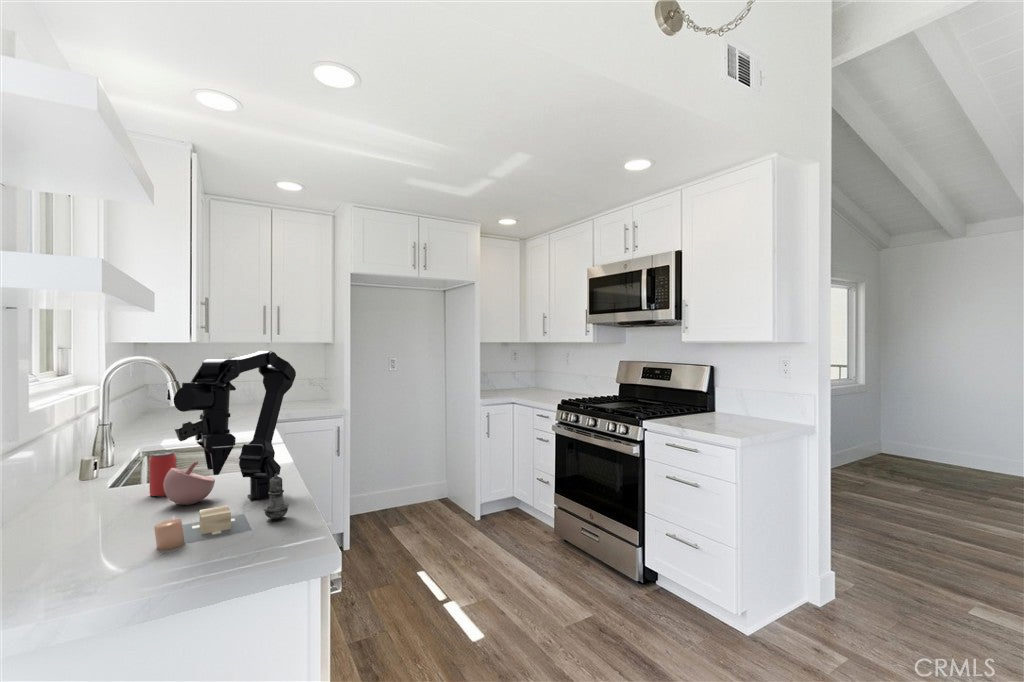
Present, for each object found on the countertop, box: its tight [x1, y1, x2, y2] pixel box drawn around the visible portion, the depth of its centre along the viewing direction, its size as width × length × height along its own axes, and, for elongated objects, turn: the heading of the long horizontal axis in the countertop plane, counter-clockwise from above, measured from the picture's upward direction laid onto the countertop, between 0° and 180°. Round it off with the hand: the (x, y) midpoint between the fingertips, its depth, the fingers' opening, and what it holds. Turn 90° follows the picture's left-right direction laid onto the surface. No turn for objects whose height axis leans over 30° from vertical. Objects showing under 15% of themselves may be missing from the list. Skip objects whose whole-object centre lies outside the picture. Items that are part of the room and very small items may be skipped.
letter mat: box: [182, 513, 253, 545], centre depth 122 cm, size 14×14×1 cm
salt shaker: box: [263, 474, 290, 524], centre depth 127 cm, size 6×6×12 cm
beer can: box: [148, 450, 178, 497], centre depth 150 cm, size 7×7×12 cm
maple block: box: [198, 504, 232, 535], centre depth 121 cm, size 6×6×4 cm
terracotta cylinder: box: [153, 518, 185, 551], centre depth 111 cm, size 5×5×5 cm
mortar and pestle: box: [163, 460, 216, 506], centre depth 141 cm, size 12×12×12 cm
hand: (213, 472), depth 127 cm, fingers open, 9 cm apart
